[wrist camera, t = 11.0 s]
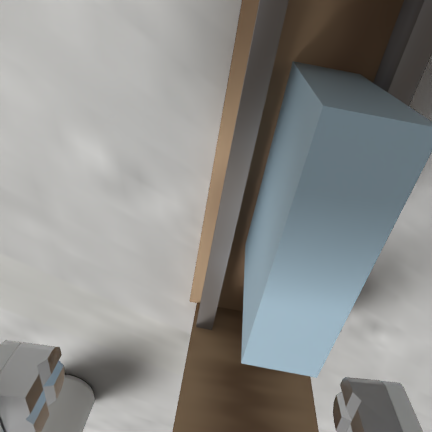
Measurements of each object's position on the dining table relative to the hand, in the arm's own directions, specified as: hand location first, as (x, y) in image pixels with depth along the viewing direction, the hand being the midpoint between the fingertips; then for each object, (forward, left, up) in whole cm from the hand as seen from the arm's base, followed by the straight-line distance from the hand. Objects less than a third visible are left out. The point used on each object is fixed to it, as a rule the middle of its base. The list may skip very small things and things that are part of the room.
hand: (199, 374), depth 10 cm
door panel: (-3, -2, -11) cm, 11 cm away
